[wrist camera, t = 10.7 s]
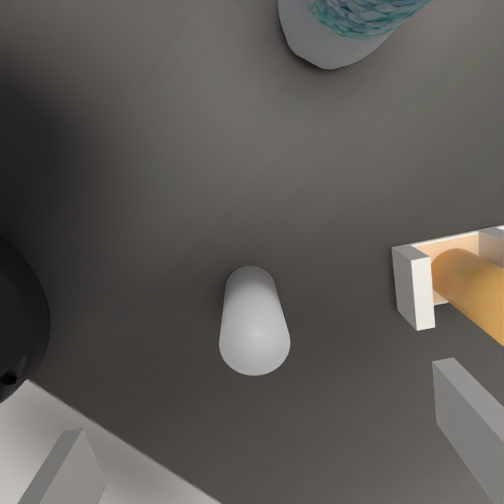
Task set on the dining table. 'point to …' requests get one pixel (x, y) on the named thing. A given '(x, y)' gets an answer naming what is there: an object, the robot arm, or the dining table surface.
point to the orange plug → (472, 288)
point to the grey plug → (253, 323)
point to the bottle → (341, 27)
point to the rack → (419, 270)
